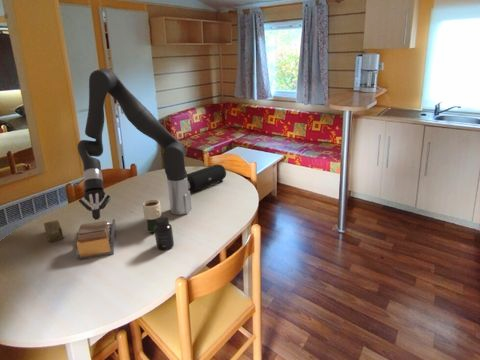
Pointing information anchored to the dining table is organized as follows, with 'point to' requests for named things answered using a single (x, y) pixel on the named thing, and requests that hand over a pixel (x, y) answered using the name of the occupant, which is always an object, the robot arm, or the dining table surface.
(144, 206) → the character mug
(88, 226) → the brown wooden block
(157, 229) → the supplement bottle
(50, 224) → the stone block
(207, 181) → the portable speaker
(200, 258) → the dining table surface
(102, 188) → the robot arm
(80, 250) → the roller track
